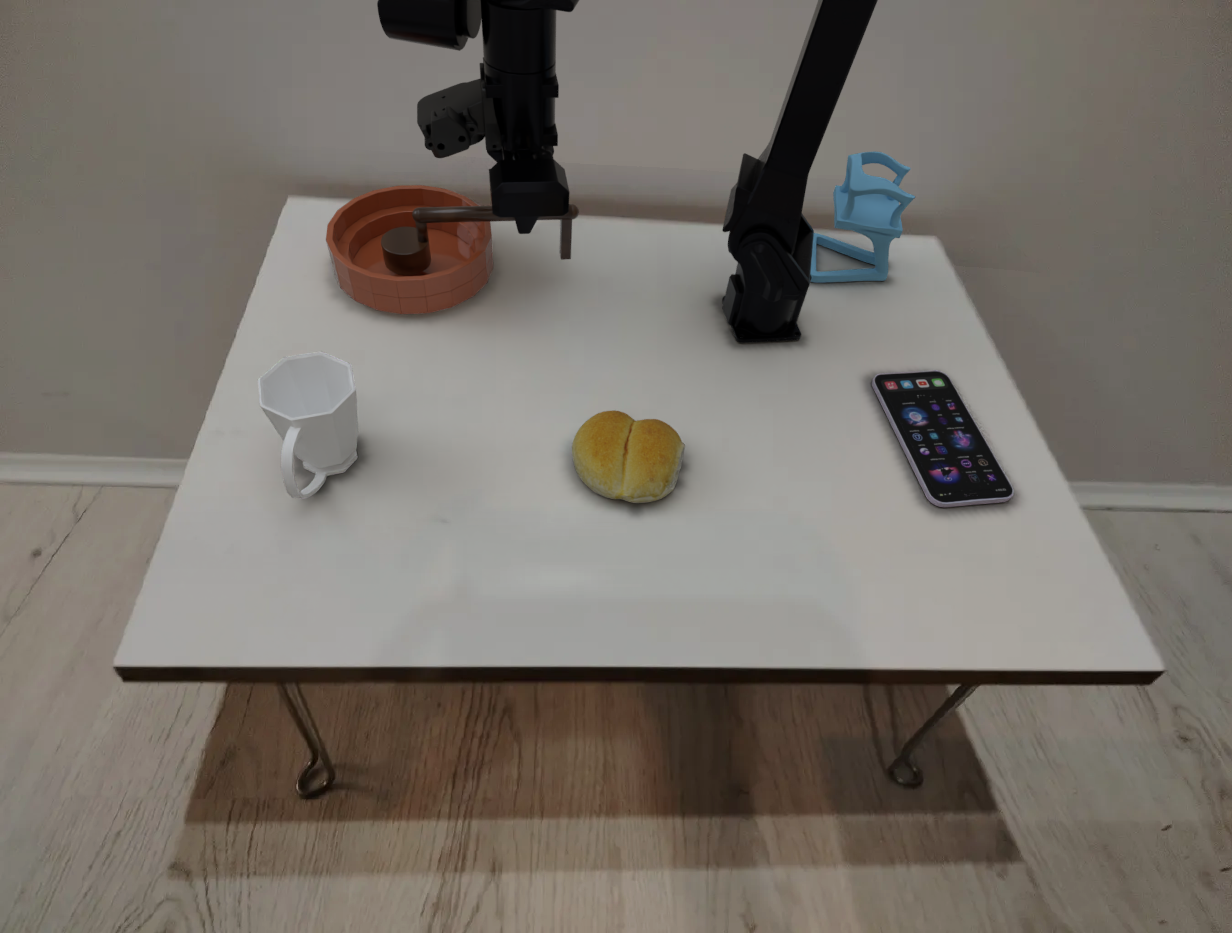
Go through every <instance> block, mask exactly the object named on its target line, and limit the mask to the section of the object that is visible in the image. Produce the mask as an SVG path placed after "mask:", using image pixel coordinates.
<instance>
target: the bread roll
mask: <svg viewBox="0 0 1232 933" xmlns="http://www.w3.org/2000/svg"><path fill="white" fill-rule="evenodd" d="M571 444H572V446H571V456H572V461H573V465H574V469H575V471H576V474H577V475H578V477H579V479H580V480H581V481H582V483H583V484H584V485H585V486H586V487H588V489H590V491H592V492H594V493H595V494H597V495H600V496H601V497H604V498H607V499H611V500H622V501H626V502H629V503H633V504H642V503H651V502H655V501H660V500H661V499H663V498H665V497H667V495H669V494H671V492H673V491H674V490H675V487H676V485H677V482H678V479H679V476H680V470H681V469H682V461H683V459H684V453H685V452H684V451H685V448H686V444H684V442H683V441H682V439H681V436H680V435H679V434H678V432H677V431H676V429H674V428H673V427H672V426H671V425H670V424H668V423H666V422H665V421H663V420H661V419H657V418H644V419H639V420H638V419H637V420H635V419H634V418H633V417H632V416H631V415H629V414H627V413H626V412H624V411H621V410H616V409H615V410H606V411H605V410H604V411H601V412H598V413H596V414H594V415H592V416H591V417H590V418H589V419H587V420H586V421H585V422H584V423H583V424H582V425H581V426H580V427H579V428H578V430H577V432H576V433H575V435H574V438H573V440H572V443H571Z"/></svg>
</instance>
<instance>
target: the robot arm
mask: <svg viewBox="0 0 1232 933" xmlns="http://www.w3.org/2000/svg"><path fill="white" fill-rule="evenodd" d="M878 1H879V0H817V3H816V6H815V9H814V12H813V15H812V18H811V20H810V24H809V26H808V30H807V32H806V35H805V38H804V42H803V44H802V47H801V49H800V52H799V55H798V58H797V60H796V64H795V66H794V70H793V72H792V75H791V78H790V81H789V85H788V86H787V90H786V93H785V96H784V99H783V102H782V104H781V108H780V109H779V110H780V111H779V114H778V116H777V119H776V121H775V126H774V128H773V131H772V134H771V136H770V139H769V142H768V143H767V146H766V147H765V148H764V149H763V151H762V153H760V155H759V156H758V157H755V156H752V155H750V154H748V153H743V154H742V157H741V162H740V168H739V171H738V176H737V177H738V178H737V181H736V183H735V184H734V186H733V187H732V188H731V189H730V192H729V198H728V202H727V208H726V211H725V216H724V221H723V224H722V230H721V231H722V232H723V233H728V237H727V244H726V245H727V250H728V253H729V254H730V255H731V256H732V258H733V259H734V261H736V262H737V265H736V269H735V273H733V274H730V275H729V276H728V282H727V285H726V288H725V289H726V290H725V294H724V296H722V298H721V305H722V307H721V309H722V312H723V314H724V318H725V320H726V323H727V325H728V326H729V327H730V329H731V331H732V334H733V337H734V340H735V341H736V342H737V343H739V344H748V343H749V344H750V343H751V344H752V343H770V342H789V341H791V342H793V341H799V340H800V339H801V337H802V331H801V329H800V327H799V325H798V320H799V316H800V314H801V311H802V308H803V305H804V302H805V299H806V297H807V293H808V290H809V287H810V285H811V283H812V282H811V279H812V277H811V275H810V273H811V261H812V249H813V237H814V233H815V230H814V228H813V227H812V225H811V224H810V223H809V221H808V220H807V219H806V216H804V214H803V208H804V202H805V198H806V190H807V186H808V179H809V175H810V174H809V173H810V171H811V169H812V167H813V164H814V162H815V159H816V157H817V153H818V151H819V149H820V146H821V143H822V141H823V139H824V137H825V133H826V131H827V129H828V126H829V123H830V121H831V119H832V116H833V114H834V111H835V109H836V106H837V104H838V101H839V100H840V99H839V98H840V96H841V93H842V91H843V89H844V87H845V84H846V81H847V79H848V76H849V73H850V71H851V69H852V66H853V64H854V61H855V59H856V57H857V54H858V51H859V48H860V46H861V44H862V41H863V39H864V36H865V33H866V31H867V28H868V26H869V24H870V21H871V18H872V16H873V14H874V10H875V8H876V6H877V3H878ZM579 2H580V0H377V3H376V6H377V7H376V8H377V13H378V14H377V15H378V18H379V23H380V26H381V29H382V31H383V32H384V34H385V35H386V37H387V38H388V39H391V40H395V41H396V40H397V41H401V42H407V43H413V44H420V45H425V46H430V47H437V48H442V49H448V50H452V51H453V50H454V51H457V52H458V51H459V52H460V51H463V49H464V48H465V47H466V45H467V43H468V40H469V39H472V40H473V39H476V38H477V36H478V34H479V32H480V28H481V36H482V52H483V57H482V62H479V78H476V79H474V80H470V81H465V82H459V83H456V84H454V85H451V86H449V87H446V88H444V89H441V90H438V91H435V92H433V93H430V94H427V95H425V96H423V97H422V98H420V99H419V101H417V104H416V123H417V125H418V126H417V127H419V129H420V131H421V133H422V135H423V137H424V148H426V149H427V150H429V151H431V153H432V155H433V157H434V158H436V159H444V158H448V157H452V156H453V155H457V154H459V153H462V152H464V151H467V150H469V149H470V148H471V146H473V145H476V144H479V143H480V142H482V141H483V140H484V142H485V143H484V144H485V150H486V153H487V155H488V156H489V157H490V158H492V159H493V160H494V161H495V164H493V166H492V167H490V168H488V179H489V180H488V181H489V192H490V203H491V206H492V214H494V215H496V216H497V217H499V218H510V217H514V219H515V221H514V222H515V226H516V229H517V233H518V234H519V235H529V234H531V233H532V231H533V229H534V227H535V225H536V223H537V221H539V220H538V218H539V217H548V216H564V215H565V214H567V213H568V212H569V204H570V188H569V183H568V179H567V174H566V170H565V168H564V167H563V165H561V164H560V163H558V161H556V160H555V159H554V154H555V148H554V147H558V146H559V132H558V129H557V125H556V124H557V123H556V99H559V98H560V97H559V94H560V93H559V92H560V91H559V89H560V85H559V81H558V75H557V72H556V70H557V69H556V68H557V67H556V66H557V11H559V12H565V13H572V12H573V11H574V10H575V8H576V7H577V5H578V3H579Z"/></svg>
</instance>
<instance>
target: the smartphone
mask: <svg viewBox="0 0 1232 933" xmlns="http://www.w3.org/2000/svg"><path fill="white" fill-rule="evenodd" d="M871 387H872V389H873V391H874V394H875V395H876V398H877V399H878V402H879V403H880V405H881V407H882V409H883V411H884V412H885V415H886V418H887V420H888V422H889V424H890V426H891V428H892V430H893V432H894V434H895V435H896V438H897V440H898V442H899V444H900V446H901V448H902V450H903V453H904V454H905V456H906V459H907V460H908V463H909V464H910V467H911V469H912V471H913V473H914V475H915V477H916V479H917V480H918V483H919V485H920V487H921V490H922V491H923V493H924V495H925V497H926V499H927V500H928V501H929V503H931V504H933V505H934V506H936V507H939V508H953V507H962V506H972V505H985V504H986V505H987V504H998V503H1006V502H1008V501H1009V500H1011V498H1012V497H1013V496H1014V494H1015V489H1014V487H1013V485H1012V483H1011V481H1010V479H1009V478H1008V475H1007V473H1005V470H1004V469H1003V468H1002V466H1001V464H1000V462H999V460H998V459H997V457H996V455H995V453H994V452H993V451H992V448H991V447H990V445H989V443H988V441H987V440H986V438H985V436H984V435H983V432H982V431H981V429H980V428H979V426H978V424H977V422H976V421H975V419H974V417H973V415H972V414H971V411H970V410H969V408H968V406H967V405H966V404H965V402H964V400H963V398H962V397H961V395H960V392H959V391H958V390H957V388H956V386H955V384H954V383H953V381H952V379H951V378H950V376H949V375H948V374H947V373H946V372H944V371H941V370H937V369H927V370H916V371H915V370H911V371H895V372H881V373H880V372H879V373H877V374H875V375H874V376H873V378H872V380H871Z"/></svg>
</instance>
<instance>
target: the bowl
mask: <svg viewBox="0 0 1232 933" xmlns="http://www.w3.org/2000/svg"><path fill="white" fill-rule="evenodd" d="M456 206H480V205H479V204H478V203H476V202H475V201H473V200H472V199H470V198H469V197H467V196H466V195H463V194H461V193H458V192H455V191H453V190H450V189H447V188H443V187H436V186H430V185H424V184H414V185H413V184H411V185H409V184H408V185H403V184H402V185H401V184H400V185H394V186H389V187H382V188H377V189H373V190H370V191H368V192H365V193H363V194H360V195H358V196H356V197H353V198H352V199H351V200H349V201H348V202H347V203H345V204H343V205H342V206H341V207H340V208H338V209H337V210H336V211H335V213H334V214H333V215H332V217H331V219H330V220H329V221H328V223H327V227H326V233H325V234H326V235H325V242H326V246H327V251H328V255H329V259H330V262H331V263H330V264H331V267H332V271H333V275H334V276H335V279H336V281H337V283H338V285H339V287H340V289H341V290H342V291H343V292H345V293H346V294H347V295H348V297H350V298H352V299H353V300H354V301H355V302H357V303H359V304H361V305H363V306H366V307H369V308H371V309H373V310H376V311H379V312H385V313H392V314H396V315H397V314H398V315H418V314H432V313H435V312H440V311H444V310H448V309H451V308H454V307H456V306H458V305H460V304H462V303H464V302H466V301H467V300H470V299H472V298H473V297H475V296H476V295H477V294H478V293H479V292H480V291H481V290H482V289H483V288H484V287H485V286H486V285H487V284H488V282H489V280H490V277H491V275H492V273H493V270H494V251H493V234H492V233H493V232H492V222H454V223H427V230H428V238H429V245H430V253H431V264H430V266H429V267H428V268H427V269H426V270H424V271H422V272H420V273H417V274H413V275H400V274H396V273H393V272H391V271H390V270H389V269H388V268H387V267H386V265H385V263H384V257H383V252H382V247H381V238H382V236H383V235H384V234H385V233H386V232H388V231H389V230H391V229H394V228H398V227H414V228H416V224H415V221H414V219H413V217H412V212H413V210H414V209H415V208H418V207H456Z"/></svg>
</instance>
